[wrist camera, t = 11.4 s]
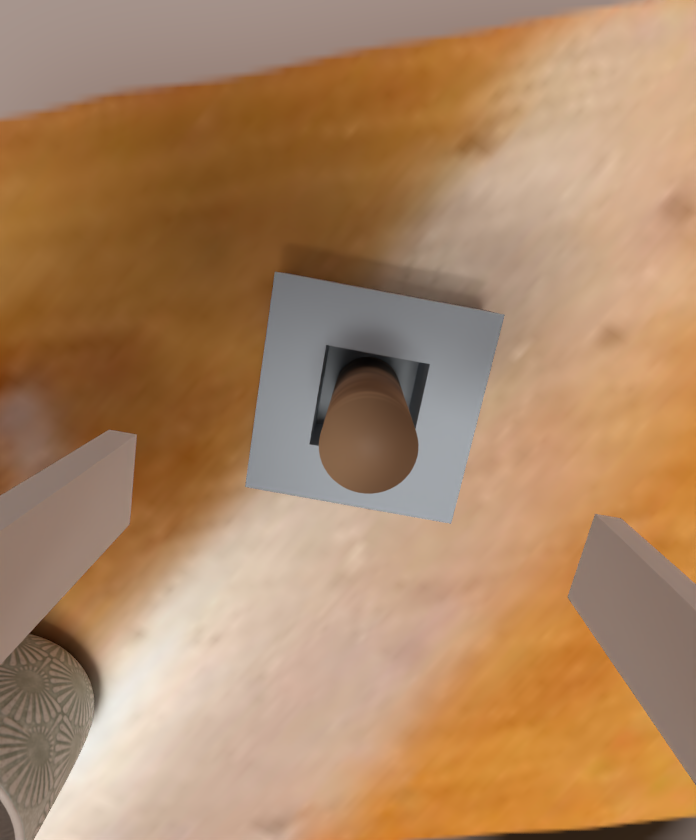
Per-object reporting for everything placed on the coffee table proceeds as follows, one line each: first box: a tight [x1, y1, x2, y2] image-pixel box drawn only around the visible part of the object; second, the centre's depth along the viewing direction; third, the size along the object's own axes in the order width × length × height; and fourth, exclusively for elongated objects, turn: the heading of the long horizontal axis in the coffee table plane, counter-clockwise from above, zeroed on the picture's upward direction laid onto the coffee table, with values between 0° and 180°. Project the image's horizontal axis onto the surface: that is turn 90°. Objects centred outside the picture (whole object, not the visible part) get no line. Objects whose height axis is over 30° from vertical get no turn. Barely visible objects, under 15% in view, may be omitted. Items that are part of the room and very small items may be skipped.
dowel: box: [319, 357, 419, 494], centre depth 27 cm, size 4×4×12 cm
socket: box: [245, 272, 504, 524], centre depth 31 cm, size 12×12×5 cm
